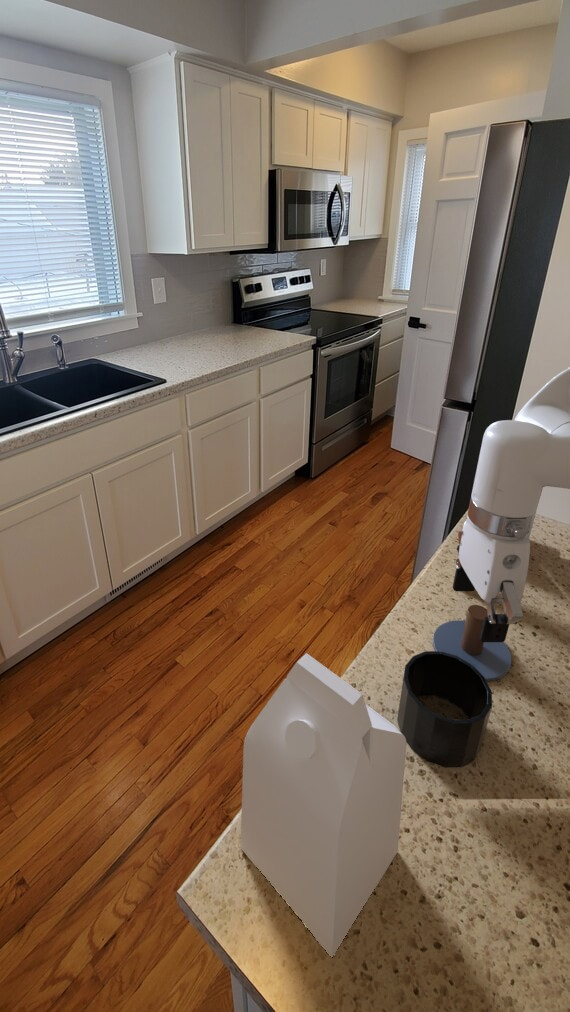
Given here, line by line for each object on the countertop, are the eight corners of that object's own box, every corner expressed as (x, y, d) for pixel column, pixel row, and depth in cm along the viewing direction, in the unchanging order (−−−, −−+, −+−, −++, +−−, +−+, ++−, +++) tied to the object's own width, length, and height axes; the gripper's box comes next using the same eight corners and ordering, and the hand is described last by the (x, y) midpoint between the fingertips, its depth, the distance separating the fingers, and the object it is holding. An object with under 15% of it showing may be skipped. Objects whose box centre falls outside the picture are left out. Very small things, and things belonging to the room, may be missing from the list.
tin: (461, 695, 67) (471, 650, 64) (494, 770, 58) (507, 723, 55) (389, 695, 68) (394, 651, 64) (410, 770, 58) (418, 723, 55)
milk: (397, 851, 51) (428, 678, 40) (332, 959, 44) (348, 783, 33) (308, 768, 59) (314, 605, 48) (240, 848, 52) (229, 676, 41)
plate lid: (490, 625, 78) (499, 585, 75) (524, 684, 68) (536, 641, 65) (422, 626, 79) (429, 586, 75) (447, 684, 69) (455, 642, 65)
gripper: (568, 556, 55) (534, 664, 62) (498, 480, 71) (477, 573, 78) (502, 556, 55) (475, 664, 62) (446, 481, 71) (430, 573, 78)
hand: (476, 613), depth 70 cm, fingers open, 9 cm apart
